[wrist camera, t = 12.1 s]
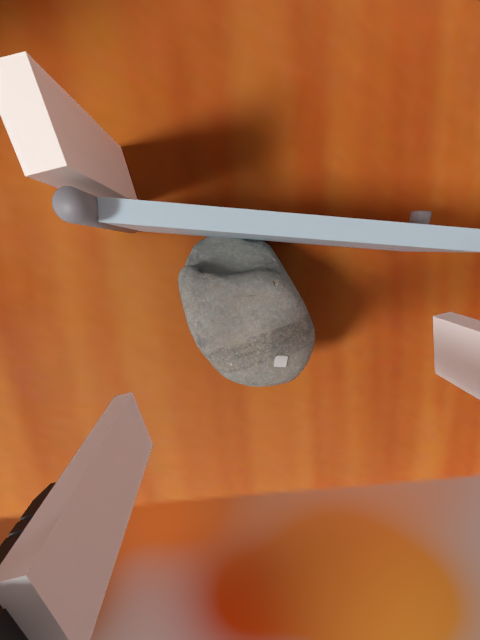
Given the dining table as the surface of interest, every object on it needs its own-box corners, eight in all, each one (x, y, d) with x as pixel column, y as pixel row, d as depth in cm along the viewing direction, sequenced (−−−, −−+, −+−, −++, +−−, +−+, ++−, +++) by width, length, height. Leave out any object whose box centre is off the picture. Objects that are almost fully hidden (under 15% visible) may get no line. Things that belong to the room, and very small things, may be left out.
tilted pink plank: (97, 152, 20) (-21, 62, 10) (121, 146, 20) (25, 51, 10) (116, 209, 21) (25, 176, 11) (138, 203, 21) (67, 165, 11)
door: (120, 232, 21) (53, 221, 13) (118, 195, 20) (48, 159, 12) (403, 253, 23) (504, 256, 15) (410, 220, 22) (520, 203, 14)
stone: (289, 219, 22) (335, 294, 15) (287, 305, 28) (319, 388, 21) (178, 236, 22) (167, 319, 14) (200, 318, 28) (200, 407, 20)
